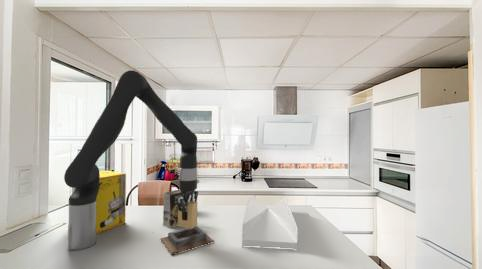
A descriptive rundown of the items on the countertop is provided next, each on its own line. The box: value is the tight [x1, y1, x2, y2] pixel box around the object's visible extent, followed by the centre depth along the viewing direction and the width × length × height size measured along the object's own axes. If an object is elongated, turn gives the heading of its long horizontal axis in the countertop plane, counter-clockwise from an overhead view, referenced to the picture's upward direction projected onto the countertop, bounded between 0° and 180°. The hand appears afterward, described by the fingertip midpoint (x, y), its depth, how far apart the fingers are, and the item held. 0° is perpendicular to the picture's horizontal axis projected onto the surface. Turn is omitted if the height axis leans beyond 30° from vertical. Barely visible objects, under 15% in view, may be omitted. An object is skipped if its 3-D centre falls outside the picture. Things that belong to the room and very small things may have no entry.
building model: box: [241, 194, 299, 250], centre depth 114 cm, size 45×22×10 cm, turn 175°
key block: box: [177, 201, 198, 229], centre depth 97 cm, size 4×7×10 cm, turn 71°
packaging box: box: [71, 170, 127, 235], centre depth 110 cm, size 16×16×25 cm
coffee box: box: [162, 189, 181, 229], centre depth 114 cm, size 9×6×16 cm
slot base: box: [160, 225, 215, 256], centre depth 96 cm, size 18×14×4 cm
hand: (187, 217), depth 97 cm, fingers closed on key block, 4 cm apart
